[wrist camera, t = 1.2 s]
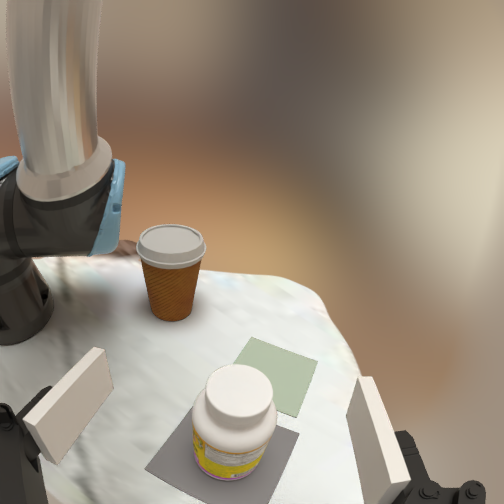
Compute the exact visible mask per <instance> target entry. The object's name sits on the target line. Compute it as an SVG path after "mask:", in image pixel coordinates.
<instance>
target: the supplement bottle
mask: <svg viewBox="0 0 504 504" xmlns="http://www.w3.org/2000/svg"><path fill="white" fill-rule="evenodd" d="M272 398H273V388H272V385H271V382H270V381H269V379H268V378H267V377H266V376H265V375H264V374H263V373H262V372H260V371H259V370H257V369H255V368H253V367H250V366H246V365H239V364H233V365H227V366H224V367H221V368H219V369H217V370H216V371H214V372H213V373H212V374H211V375H210V377H209V378H208V380H207V383H206V388H204V389H203V390H202V391H201V392H200V393H199V395H198V396H197V398H196V399H195V402H194V404H193V408H192V428H193V450H194V456H195V460H196V462H197V464H198V465H199V467H200V468H201V469H202V470H203V471H204V472H205V473H206V474H208V475H209V476H211V477H213V478H216V479H220V480H227V481H229V480H238V479H241V478H243V477H245V476H247V475H249V474H250V473H251V472H252V471H253V470H254V469H255V468H256V466H257V465H258V463H259V461H260V459H261V457H262V455H263V453H264V451H265V449H266V447H267V444H268V442H269V440H270V438H271V436H272V434H273V432H274V430H275V427H276V424H277V410H276V407H275V404H274V402H273V400H272Z"/></svg>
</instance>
